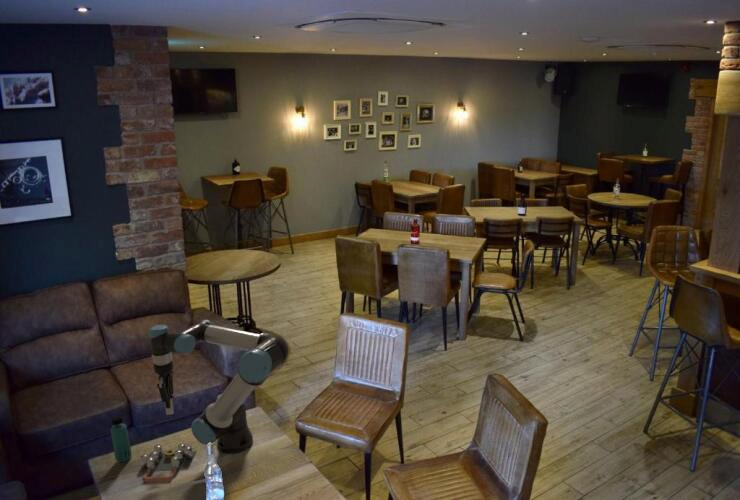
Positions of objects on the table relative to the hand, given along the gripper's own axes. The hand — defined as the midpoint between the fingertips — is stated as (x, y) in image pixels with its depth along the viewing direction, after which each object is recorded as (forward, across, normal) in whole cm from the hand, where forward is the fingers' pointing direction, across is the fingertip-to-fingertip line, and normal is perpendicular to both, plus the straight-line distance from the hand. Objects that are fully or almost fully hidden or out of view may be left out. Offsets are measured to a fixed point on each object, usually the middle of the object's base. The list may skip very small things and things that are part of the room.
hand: (170, 413), depth 245 cm
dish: (+18, +19, 0) cm, 26 cm away
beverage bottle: (+18, +6, -20) cm, 27 cm away
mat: (+18, +9, 0) cm, 20 cm away
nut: (+17, +6, 0) cm, 18 cm away
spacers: (+17, +10, 0) cm, 20 cm away
